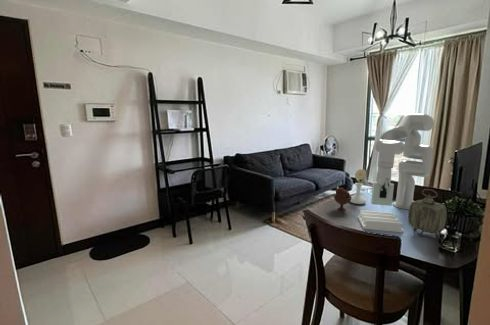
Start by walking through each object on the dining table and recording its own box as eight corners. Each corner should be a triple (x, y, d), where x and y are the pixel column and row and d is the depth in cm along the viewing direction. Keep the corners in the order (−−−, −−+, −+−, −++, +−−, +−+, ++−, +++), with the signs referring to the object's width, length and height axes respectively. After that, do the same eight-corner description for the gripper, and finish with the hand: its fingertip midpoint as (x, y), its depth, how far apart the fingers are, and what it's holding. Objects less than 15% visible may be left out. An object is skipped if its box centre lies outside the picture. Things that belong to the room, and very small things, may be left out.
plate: (390, 204, 147) (392, 183, 145) (391, 205, 145) (394, 184, 142) (371, 202, 149) (373, 182, 147) (372, 204, 147) (374, 183, 144)
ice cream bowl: (342, 214, 164) (344, 191, 161) (329, 208, 174) (330, 186, 171) (354, 211, 169) (356, 189, 166) (340, 205, 179) (342, 184, 176)
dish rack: (394, 220, 155) (395, 212, 154) (403, 232, 140) (404, 223, 139) (357, 217, 159) (358, 210, 158) (363, 228, 144) (364, 220, 143)
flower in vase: (345, 200, 190) (348, 166, 185) (360, 199, 191) (363, 166, 186) (355, 206, 177) (358, 170, 172) (370, 206, 178) (374, 170, 173)
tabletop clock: (443, 238, 133) (450, 191, 128) (435, 243, 128) (442, 194, 123) (412, 228, 145) (418, 184, 140) (404, 232, 140) (410, 187, 135)
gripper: (374, 161, 151) (371, 192, 155) (382, 167, 136) (378, 201, 139) (388, 162, 149) (385, 193, 153) (398, 167, 134) (394, 202, 138)
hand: (382, 196), depth 146 cm, fingers closed on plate, 2 cm apart
